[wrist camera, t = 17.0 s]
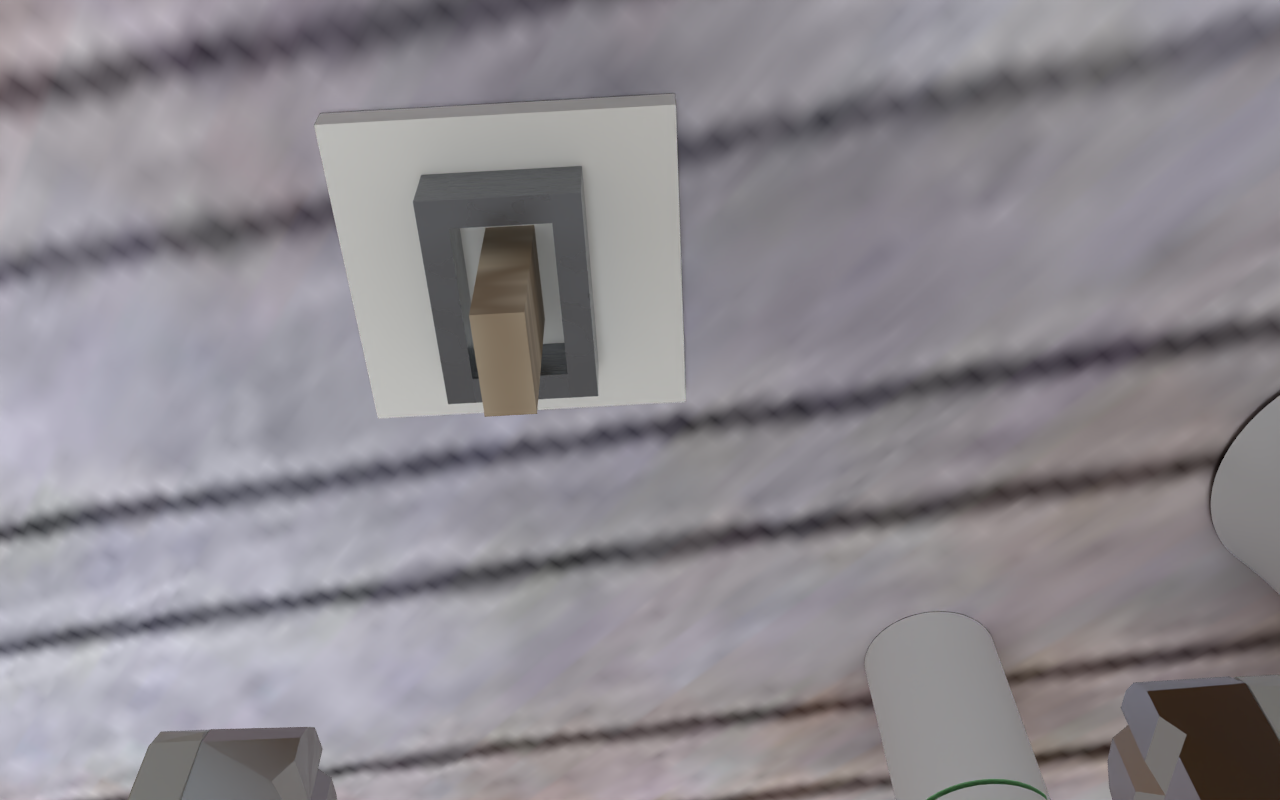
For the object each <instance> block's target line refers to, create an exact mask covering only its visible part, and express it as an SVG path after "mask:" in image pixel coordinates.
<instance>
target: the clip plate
mask: <svg viewBox="0 0 1280 800" xmlns="http://www.w3.org/2000/svg"><path fill="white" fill-rule="evenodd" d="M314 127H315V132H316V137H317V141H318V146H319V150H320V155H321V159H322V164H323V169H324V173H325V178H326V182H327V187H328V192H329V196H330V201H331V205H332V210H333V214H334V219H335V224H336V228H337V233H338V237H339V242H340V247H341V251H342V256H343V260H344V265H345V269H346V274H347V279H348V283H349V288H350V292H351V297H352V302H353V306H354V311H355V315H356V320H357V324H358V329H359V334H360V338H361V343H362V347H363V352H364V357H365V361H366V366H367V370H368V375H369V379H370V384H371V389H372V393H373V398H374V402H375V407H376V412H377V416H378V418H397V417H415V416H434V415H453V414H471V413H484V408H483V402H480V403H462V404H448V401H447V395H446V390H445V384H444V378H443V372H442V367H441V361H440V355H439V349H438V344H437V338H436V332H435V327H434V321H433V315H432V309H431V304H430V298H429V292H428V287H427V281H426V275H425V269H424V264H423V258H422V252H421V246H420V241H419V235H418V229H417V224H416V218H415V212H414V206H413V200H414V196H415V193H416V190H417V187H418V184H419V180H420V177H421V175H426V174H444V173H462V172H480V171H498V170H516V169H534V168H552V167H570V166H582V171H583V183H584V195H585V207H586V219H587V231H588V243H589V255H590V267H591V279H592V291H593V303H594V315H595V327H596V339H597V351H598V363H599V371H598V396H592V397H573V398H555V399H538V408H537V410H546V409H564V408H583V407H601V406H620V405H639V404H657V403H676V402H686V392H685V363H684V333H683V303H682V273H681V243H680V214H679V184H678V154H677V124H676V102H675V94H657V95H639V96H621V97H603V98H586V99H568V100H550V101H532V102H515V103H497V104H479V105H461V106H444V107H426V108H408V109H390V110H373V111H355V112H337V113H320V115H319V117H318V118H317V120H316V122H315V124H314ZM527 225H534V227H535V236H536V245H537V254H538V262H539V271H540V280H541V289H542V298H543V307H544V315H545V325H544V337H543V344H551V343H564V334H563V324H562V314H561V304H560V294H559V284H558V275H557V265H556V255H555V245H554V235H553V226H552V223H545V224H527ZM508 226H524V225H508ZM490 227H506V226H490ZM485 228H489V227H472V228H460V233H461V240H462V246H463V253H464V259H465V266H466V273H467V279H468V286H469V292H470V299H471V302H472V297H473V291H474V286H475V281H476V275H477V270H478V265H479V259H480V254H481V249H482V243H483V238H484V233H485Z"/></svg>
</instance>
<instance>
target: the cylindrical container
mask: <svg viewBox="0 0 1280 800" xmlns="http://www.w3.org/2000/svg"><path fill="white" fill-rule="evenodd" d="M864 667H865V672H866V676H867V680H868V684H869V689H870V693H871V697H872V701H873V706H874V710H875V714H876V718H877V723H878V727H879V731H880V735H881V740H882V744H883V748H884V752H885V757H886V761H887V765H888V769H889V774H890V778H891V782H892V786H893V791H894V795H895V799H896V800H1051V799H1050V797H1049V794H1048V791H1047V788H1046V786H1045V783H1044V780H1043V777H1042V775H1041V772H1040V769H1039V766H1038V764H1037V761H1036V758H1035V755H1034V753H1033V750H1032V747H1031V744H1030V742H1029V739H1028V736H1027V733H1026V731H1025V728H1024V725H1023V722H1022V720H1021V717H1020V714H1019V711H1018V709H1017V706H1016V703H1015V700H1014V698H1013V695H1012V692H1011V689H1010V687H1009V684H1008V681H1007V678H1006V676H1005V673H1004V670H1003V667H1002V664H1001V662H1000V659H999V656H998V653H997V651H996V648H995V645H994V642H993V640H992V638H991V635H990V633H989V632H988V631H987V630H986V628H985V627H984V626H983V625H981V624H980V623H979V622H977V621H976V620H974V619H972V618H969V617H967V616H964V615H961V614H957V613H951V612H927V613H922V614H917V615H913V616H910V617H907V618H904V619H902V620H900V621H898V622H896V623H894V624H892V625H891V626H889V627H888V628H886V629H885V630H883V631H882V632H881V633H880V634H879V635H878V636H877V637H876V638H875V639H874V640H873V642H872V643H871V645H870V646H869V648H868V650H867V653H866V656H865V664H864Z"/></svg>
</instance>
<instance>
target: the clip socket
mask: <svg viewBox="0 0 1280 800" xmlns="http://www.w3.org/2000/svg"><path fill="white" fill-rule="evenodd" d="M413 206H414V212H415V218H416V224H417V229H418V235H419V241H420V246H421V252H422V258H423V264H424V269H425V275H426V281H427V287H428V292H429V298H430V304H431V309H432V315H433V321H434V327H435V332H436V338H437V344H438V349H439V355H440V361H441V367H442V372H443V378H444V384H445V390H446V395H447V401H448V404H462V403H480V402H482V396H481V389H480V383H479V376H478V370H477V364H476V357H475V351H474V344H473V338H472V332H471V325H470V319H469V312H470V307H471V299H470V292H469V286H468V279H467V273H466V266H465V259H464V253H463V246H462V240H461V233H460V228H472V227H490V226H508V225H527V224H545V223H552V226H553V235H554V245H555V255H556V265H557V275H558V284H559V294H560V304H561V314H562V324H563V334H564V343H551V344H543V348H542V360H541V372H540V384H539V396H538V399H555V398H573V397H592V396H598V371H599V363H598V351H597V339H596V327H595V315H594V303H593V291H592V279H591V267H590V255H589V243H588V231H587V219H586V207H585V195H584V183H583V171H582V166H570V167H552V168H534V169H516V170H498V171H480V172H462V173H444V174H426V175H421V177H420V180H419V184H418V187H417V190H416V193H415V196H414V200H413Z"/></svg>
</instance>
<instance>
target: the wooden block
mask: <svg viewBox="0 0 1280 800" xmlns="http://www.w3.org/2000/svg"><path fill="white" fill-rule="evenodd" d="M469 319H470V325H471V332H472V338H473V344H474V351H475V357H476V364H477V370H478V376H479V383H480V389H481V396H482V402H483V408H484V415H485V417H487V416H505V415H523V414H537V408H538V396H539V384H540V372H541V360H542V348H543V337H544V325H545V315H544V307H543V298H542V289H541V280H540V271H539V262H538V254H537V245H536V236H535V227H534V225H524V226H506V227H489V228H485V233H484V238H483V243H482V249H481V254H480V259H479V265H478V270H477V275H476V281H475V286H474V291H473V297H472V302H471V307H470V312H469Z"/></svg>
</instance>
